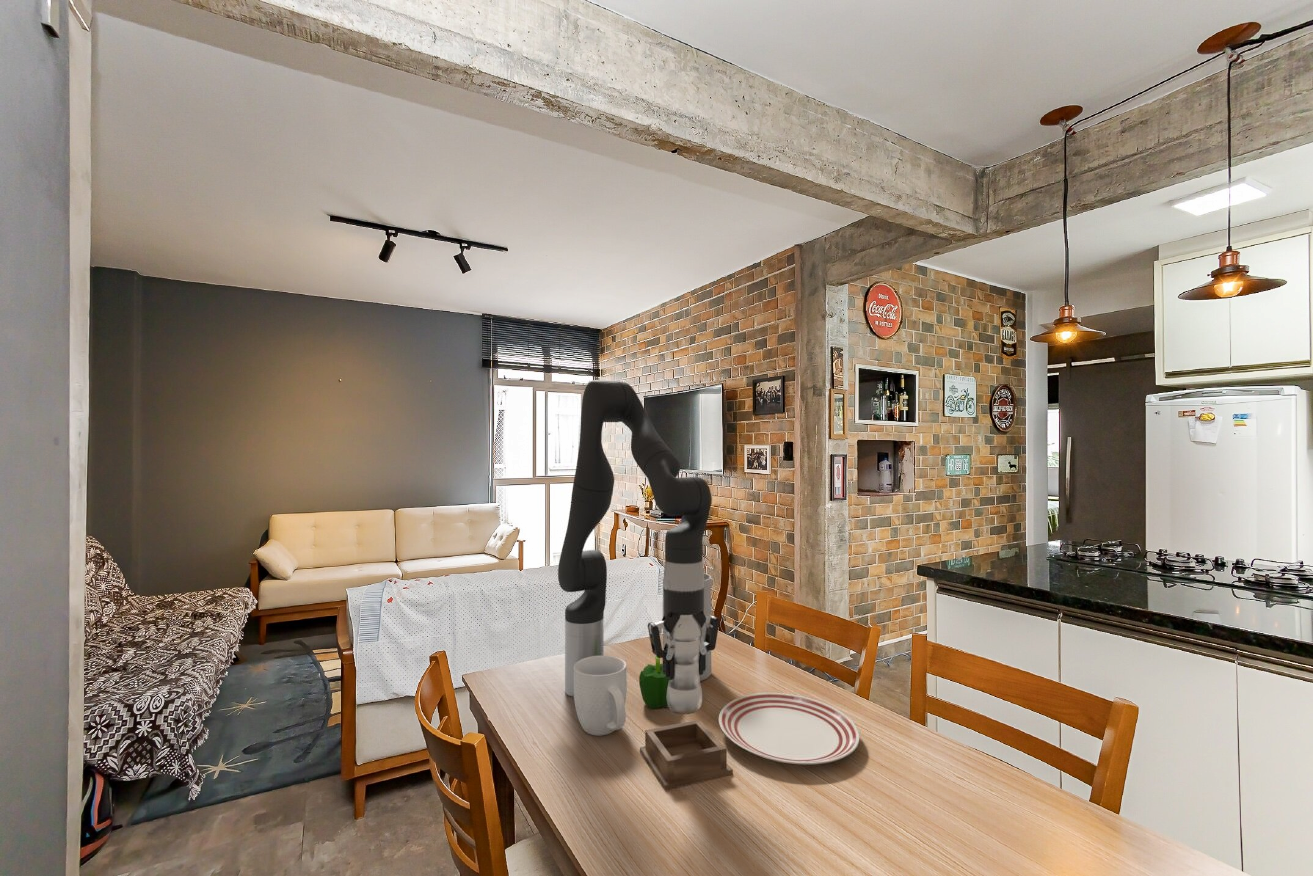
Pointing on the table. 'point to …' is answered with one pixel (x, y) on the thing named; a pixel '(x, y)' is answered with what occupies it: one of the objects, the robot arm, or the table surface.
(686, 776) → the bottle stand
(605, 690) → the mug
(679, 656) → the plastic bottle
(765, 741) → the dinner plate
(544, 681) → the table surface
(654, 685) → the bell pepper
